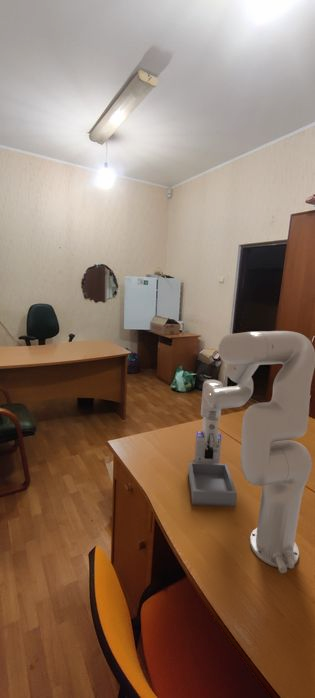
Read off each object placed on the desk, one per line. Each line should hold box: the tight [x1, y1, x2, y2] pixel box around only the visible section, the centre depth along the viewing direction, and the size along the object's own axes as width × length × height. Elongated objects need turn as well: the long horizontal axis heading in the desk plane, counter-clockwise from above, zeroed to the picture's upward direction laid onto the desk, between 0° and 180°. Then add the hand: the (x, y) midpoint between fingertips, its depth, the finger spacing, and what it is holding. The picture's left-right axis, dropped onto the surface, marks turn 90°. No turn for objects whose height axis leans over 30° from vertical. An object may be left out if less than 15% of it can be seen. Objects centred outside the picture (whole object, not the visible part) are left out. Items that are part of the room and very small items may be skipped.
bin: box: [187, 461, 238, 508], centre depth 105 cm, size 16×14×5 cm
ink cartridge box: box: [193, 430, 222, 463], centre depth 119 cm, size 10×6×14 cm, turn 79°
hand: (207, 453), depth 120 cm, fingers closed on ink cartridge box, 6 cm apart
